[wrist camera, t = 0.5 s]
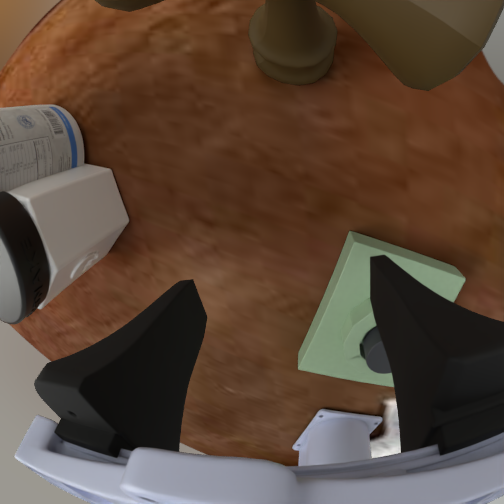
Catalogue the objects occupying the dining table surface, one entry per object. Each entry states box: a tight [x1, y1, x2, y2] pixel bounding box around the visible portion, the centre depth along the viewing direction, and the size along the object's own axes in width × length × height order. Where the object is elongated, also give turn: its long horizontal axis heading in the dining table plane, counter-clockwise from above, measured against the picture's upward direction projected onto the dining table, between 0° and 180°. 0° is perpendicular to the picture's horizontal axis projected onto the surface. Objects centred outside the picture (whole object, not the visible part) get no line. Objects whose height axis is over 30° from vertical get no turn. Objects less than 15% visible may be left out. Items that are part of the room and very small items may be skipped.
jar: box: [0, 163, 129, 324], centre depth 18 cm, size 9×8×12 cm
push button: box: [363, 326, 392, 374], centre depth 19 cm, size 4×4×2 cm
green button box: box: [298, 231, 466, 387], centre depth 21 cm, size 12×10×4 cm
